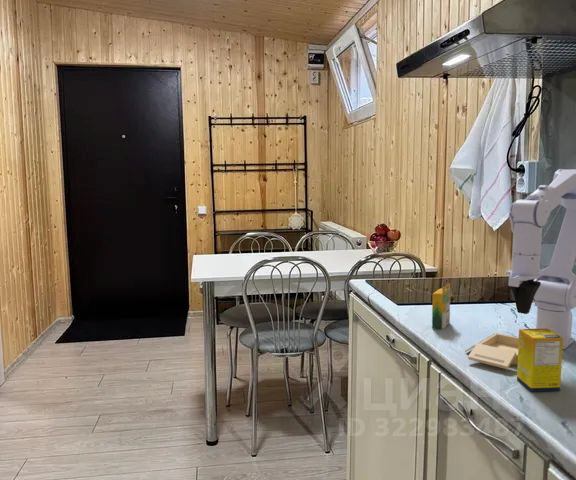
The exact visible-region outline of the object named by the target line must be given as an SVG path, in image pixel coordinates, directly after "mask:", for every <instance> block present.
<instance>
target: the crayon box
mask: <svg viewBox="0 0 576 480" xmlns="http://www.w3.org/2000/svg"><path fill="white" fill-rule="evenodd" d="M431 301H432V302H431V303H432V304H431V305H432V307H431V309H432V310H431V311H432V313H431V317H432V318H431V323H432V325H431V328H432V329H437V330H443V329H444V328H445V327H447V325H449V324H450V323H451V320H450V317H451V314H450V313H451V282H450V283H447V284H446V285H445V286H443V287H441V288H439V289H437V290H436V291H435V292H433V293H432V300H431Z"/></svg>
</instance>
